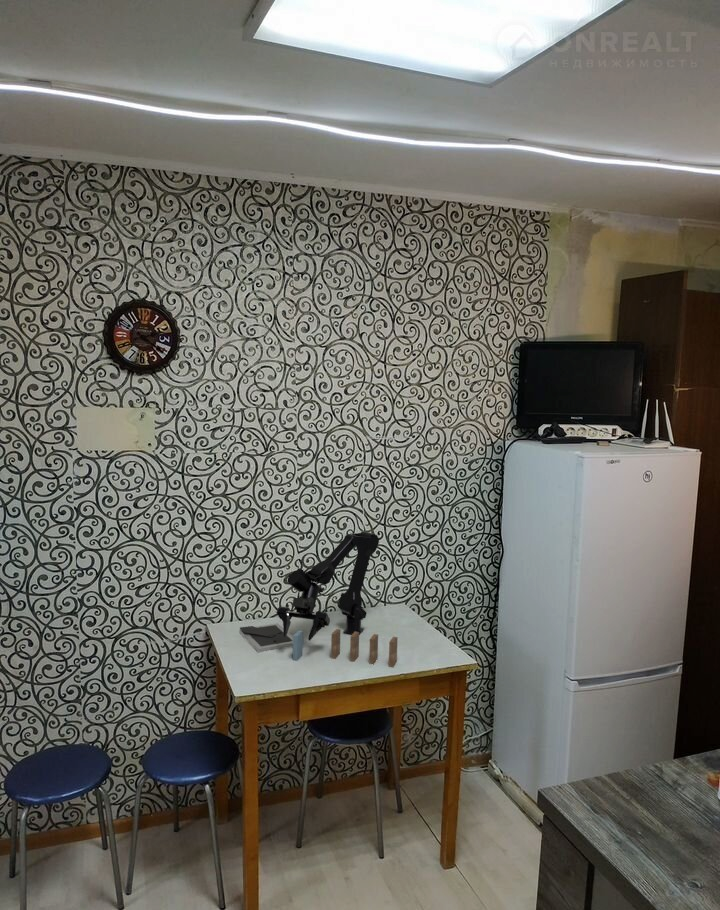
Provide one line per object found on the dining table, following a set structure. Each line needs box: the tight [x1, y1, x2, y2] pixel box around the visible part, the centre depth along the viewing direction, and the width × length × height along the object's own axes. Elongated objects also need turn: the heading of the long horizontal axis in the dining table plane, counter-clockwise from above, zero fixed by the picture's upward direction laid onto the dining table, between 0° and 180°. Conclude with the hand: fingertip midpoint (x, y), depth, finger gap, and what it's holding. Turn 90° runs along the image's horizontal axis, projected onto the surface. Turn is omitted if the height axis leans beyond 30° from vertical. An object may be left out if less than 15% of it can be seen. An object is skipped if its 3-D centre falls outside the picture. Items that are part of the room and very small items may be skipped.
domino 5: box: [388, 636, 399, 668], centre depth 244 cm, size 2×5×9 cm, turn 163°
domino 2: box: [330, 628, 341, 660], centre depth 250 cm, size 2×5×9 cm, turn 163°
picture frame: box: [239, 622, 293, 653], centre depth 265 cm, size 16×3×21 cm
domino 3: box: [349, 632, 360, 663], centre depth 248 cm, size 2×5×9 cm, turn 163°
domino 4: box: [368, 633, 379, 666], centre depth 246 cm, size 2×5×9 cm, turn 163°
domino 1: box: [292, 630, 304, 662], centre depth 248 cm, size 2×5×9 cm, turn 163°
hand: (296, 638), depth 246 cm, fingers open, 9 cm apart
